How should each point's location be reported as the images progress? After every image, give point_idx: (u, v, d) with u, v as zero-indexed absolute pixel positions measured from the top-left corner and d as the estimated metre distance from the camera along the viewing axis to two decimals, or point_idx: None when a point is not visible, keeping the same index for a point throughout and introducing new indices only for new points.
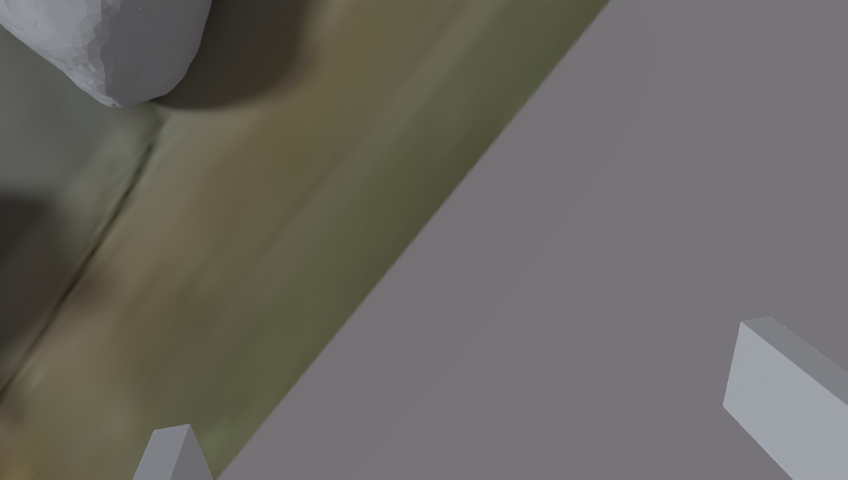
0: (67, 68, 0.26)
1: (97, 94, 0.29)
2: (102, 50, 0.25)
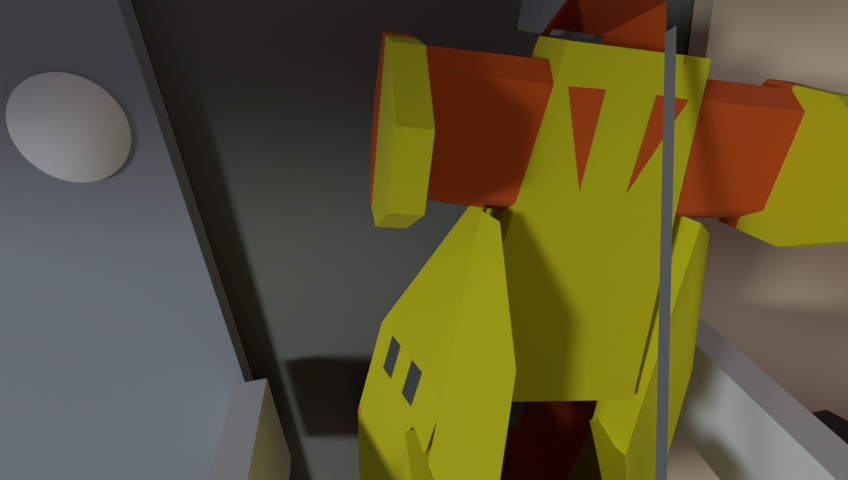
0: None
1: None
2: None
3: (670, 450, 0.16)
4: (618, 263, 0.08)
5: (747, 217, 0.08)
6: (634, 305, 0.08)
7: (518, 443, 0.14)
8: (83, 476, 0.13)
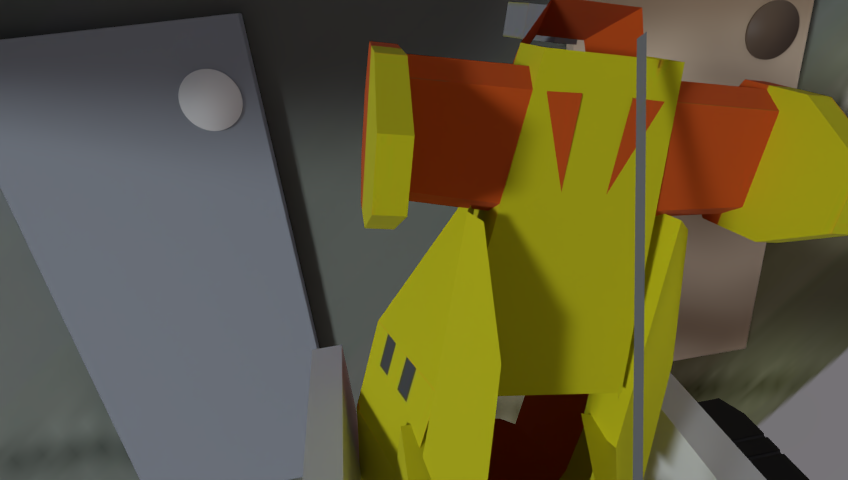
0: None
1: None
2: None
3: None
4: (601, 260, 0.08)
5: (728, 214, 0.08)
6: (619, 300, 0.08)
7: (517, 439, 0.15)
8: (193, 326, 0.20)
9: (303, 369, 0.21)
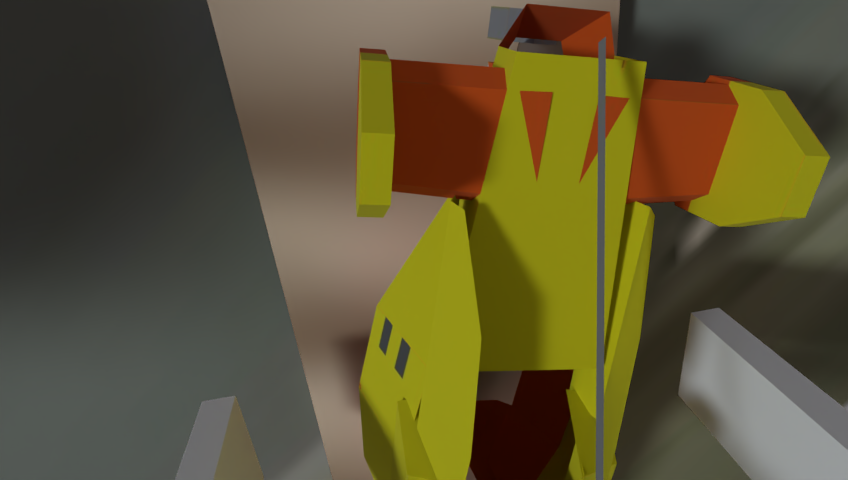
0: None
1: None
2: None
3: None
4: (577, 244, 0.09)
5: (696, 200, 0.09)
6: (595, 282, 0.09)
7: (513, 419, 0.15)
8: None
9: None
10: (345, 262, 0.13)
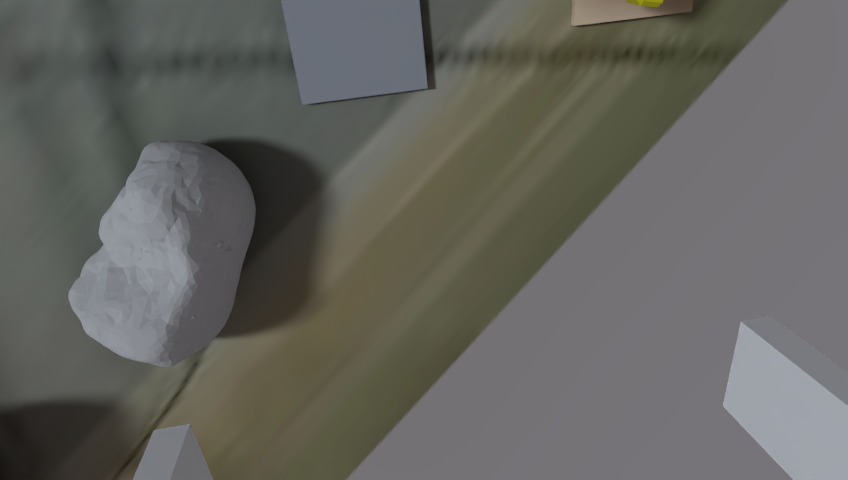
0: None
1: None
2: (169, 354, 0.34)
3: None
4: None
5: None
6: None
7: None
8: None
9: None
10: None
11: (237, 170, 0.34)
